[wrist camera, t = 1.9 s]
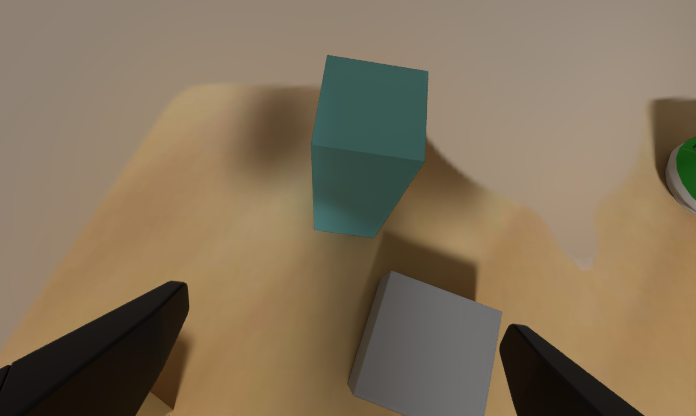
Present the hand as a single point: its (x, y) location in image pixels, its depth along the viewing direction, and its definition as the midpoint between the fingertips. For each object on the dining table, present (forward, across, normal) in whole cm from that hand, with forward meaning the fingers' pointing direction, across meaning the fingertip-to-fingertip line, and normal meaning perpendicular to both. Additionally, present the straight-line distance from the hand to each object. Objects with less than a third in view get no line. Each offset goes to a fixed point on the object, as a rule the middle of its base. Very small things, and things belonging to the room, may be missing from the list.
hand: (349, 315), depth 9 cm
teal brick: (+15, 0, +4) cm, 16 cm away
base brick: (+9, -6, +10) cm, 15 cm away
